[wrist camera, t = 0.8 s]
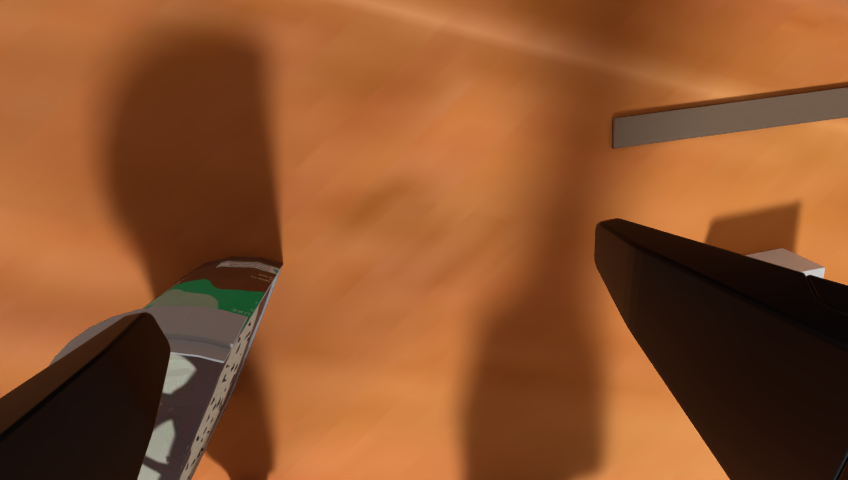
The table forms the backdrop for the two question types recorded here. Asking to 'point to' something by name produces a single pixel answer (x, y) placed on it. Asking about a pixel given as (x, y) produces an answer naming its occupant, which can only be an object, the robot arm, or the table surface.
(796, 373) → the robot arm
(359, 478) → the table surface
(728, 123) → the bar
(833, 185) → the table surface
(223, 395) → the food container
